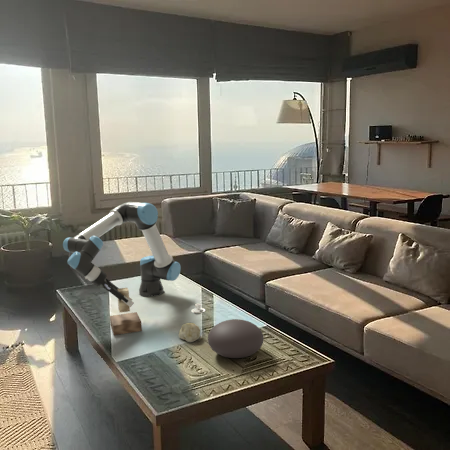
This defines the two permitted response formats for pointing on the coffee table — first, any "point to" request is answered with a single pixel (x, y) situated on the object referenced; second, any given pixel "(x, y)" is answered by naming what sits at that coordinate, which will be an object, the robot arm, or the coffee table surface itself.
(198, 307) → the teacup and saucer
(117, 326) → the walnut block
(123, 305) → the beech block
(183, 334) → the decorative item
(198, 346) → the coffee table surface
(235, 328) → the flattened ellipsoid
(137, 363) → the coffee table surface
